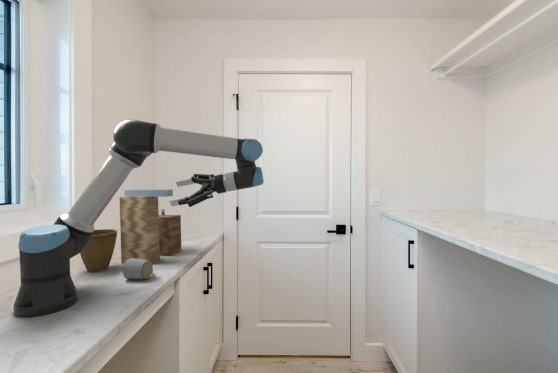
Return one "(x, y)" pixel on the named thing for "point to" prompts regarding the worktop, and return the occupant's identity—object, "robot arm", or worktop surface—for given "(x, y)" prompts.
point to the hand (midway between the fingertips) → (173, 193)
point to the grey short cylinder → (137, 269)
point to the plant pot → (99, 250)
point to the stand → (139, 228)
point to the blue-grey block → (149, 193)
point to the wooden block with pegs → (169, 234)
